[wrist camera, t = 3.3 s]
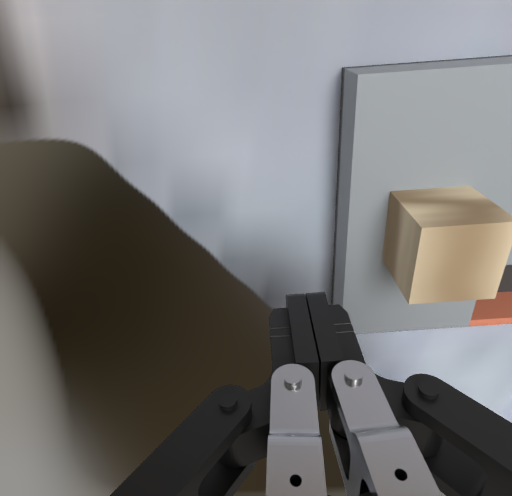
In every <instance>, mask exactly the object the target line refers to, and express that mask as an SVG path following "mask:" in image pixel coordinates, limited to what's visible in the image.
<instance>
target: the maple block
mask: <svg viewBox="0 0 512 496" xmlns="http://www.w3.org/2000/svg"><path fill="white" fill-rule="evenodd" d="M511 247H512V216H511V215H510V214H509V213H507V212H506V211H505V210H503V209H502V208H500V207H499V206H498V205H496V204H495V203H493V202H492V201H491V200H489V199H488V198H487V197H485V196H484V195H482V194H481V193H480V192H478V191H477V190H475V189H474V188H473V187H471V186H458V187H443V188H429V189H415V190H401V191H390V196H389V204H388V212H387V220H386V229H385V237H384V245H383V253H382V260H383V262H384V263H385V265H386V267H387V268H388V270H389V272H390V274H391V275H392V277H393V279H394V280H395V282H396V284H397V285H398V287H399V289H400V291H401V292H402V294H403V296H404V297H405V299H406V301H407V303H408V304H422V303H437V302H452V301H467V300H481V299H495V297H496V294H497V291H498V288H499V284H500V281H501V278H502V275H503V272H504V269H505V266H506V262H507V259H508V256H509V253H510V250H511Z"/></svg>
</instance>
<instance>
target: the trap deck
mask: <svg viewBox="0 0 512 496" xmlns="http://www.w3.org/2000/svg"><path fill="white" fill-rule="evenodd" d="M458 186H471V187H473V188H474V189H475V190H477V191H478V192H480V193H481V194H482V195H484V196H485V197H487V198H488V199H489V200H491V201H492V202H493V203H495V204H496V205H498V206H499V207H500V208H502V209H503V210H505V211H506V212H507V213H509V214H510V215H511V216H512V55H508V56H495V57H481V58H467V59H454V60H440V61H426V62H413V63H399V64H385V65H372V66H358V67H344V68H342V88H341V110H340V132H339V153H338V175H337V197H336V219H335V240H334V262H333V284H332V305H336V304H339V305H340V306H342V307H343V308H344V309H345V310H346V311H347V312H348V315H349V318H350V321H351V324H352V326H353V329H354V333H355V334H363V333H378V332H393V331H408V330H423V329H438V328H453V327H468V326H483V325H498V324H512V247H511V250H510V253H509V256H508V259H507V262H506V266H505V269H504V272H503V275H502V278H501V281H500V284H499V288H498V291H497V294H496V297H495V299H481V300H467V301H452V302H437V303H422V304H408V303H407V301H406V299H405V297H404V296H403V294H402V292H401V291H400V289H399V287H398V285H397V284H396V282H395V280H394V279H393V277H392V275H391V274H390V272H389V270H388V268H387V267H386V265H385V263H384V262H383V260H382V253H383V245H384V237H385V229H386V220H387V212H388V204H389V196H390V191H401V190H415V189H429V188H443V187H458Z"/></svg>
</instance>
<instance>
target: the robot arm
mask: <svg viewBox="0 0 512 496" xmlns="http://www.w3.org/2000/svg"><path fill="white" fill-rule="evenodd" d="M269 325H270V339H271V354H272V374H271V376H270V378H269V379H268V380H267V381H266V383H264V384H263V385H262V386H260V387H258V388H255V389H253V390H250V391H246V390H245V389H244V388H242V387H240V386H236V385H225V386H222V387H219V388H217V389H216V390H214V391H213V392H212V393H211V394H210V395H209V396H208V397H207V398H206V399H205V400H204V401H203V402H202V403H201V404H200V405H199V406H198V407H197V408H196V409H195V410H194V411H193V412H192V413H191V414H190V415H189V416H188V417H187V418H186V419H185V420H184V421H183V422H182V423H181V424H180V425H179V426H178V427H177V428H176V429H175V430H174V431H173V432H172V433H171V434H170V435H169V436H168V437H167V439H165V440H164V441H163V442H162V443H161V445H159V446H158V448H156V449H155V450H154V452H153V453H152V454H151V455H150V456H149V457H148V458H147V459H146V460H145V461H144V462H143V463H142V464H141V465H140V466H139V467H138V468H137V469H136V470H135V471H134V472H133V473H132V474H131V475H130V476H129V477H128V478H127V479H126V480H125V481H124V482H123V483H122V484H121V485H120V486H119V487H118V488H117V489H116V490H115V491H114V492H113V493H112V494H111V495H110V496H233V495H234V494H235V492H236V491H237V489H238V488H239V487H240V485H241V484H242V483H243V481H244V480H245V479H246V477H247V476H248V475H249V473H250V472H251V470H252V469H253V468H254V466H255V464H256V461H258V460H260V459H263V458H265V457H267V477H266V496H329V495H327V492H326V481H325V471H324V460H323V450H322V440H321V435H320V433H319V423H318V412H317V411H318V401H319V407H320V411H323V410H328V414H329V419H330V426H329V431H330V435H331V439H332V442H333V446H334V449H335V453H336V456H337V460H338V463H339V467H340V470H341V474H342V477H343V481H344V485H345V489H346V494H347V496H442V495H441V493H440V491H441V492H442V493H444V494H445V495H446V496H512V423H511V422H509V421H507V420H506V419H504V418H503V417H501V416H499V415H498V414H496V413H494V412H493V411H491V410H489V409H488V408H486V407H485V406H483V405H481V404H480V403H478V402H476V401H475V400H473V399H471V398H470V397H468V396H467V395H465V394H463V393H462V392H460V391H458V390H457V389H455V388H453V387H452V386H450V385H448V384H447V383H445V382H444V381H442V380H440V379H438V378H437V377H434V376H431V375H427V374H415V375H412V376H410V377H409V378H407V379H406V381H405V383H403V382H398V381H393V380H388V379H385V378H382V377H380V376H378V375H376V374H375V373H374V372H373V370H372V369H371V368H370V367H369V366H367V365H366V363H365V361H364V358H363V355H362V352H361V349H360V346H359V344H358V341H357V338H356V335H355V333H354V329H353V326H352V324H351V321H350V318H349V315H348V312H347V311H346V310H345V309H344V308H343V307H342V306H340V305H339V304H336V305H328V302H327V298H326V295H325V293H324V292H319V293H306V294H290V295H286V308H277V309H273V311H272V313H271V315H270V317H269ZM439 490H440V491H439Z"/></svg>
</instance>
